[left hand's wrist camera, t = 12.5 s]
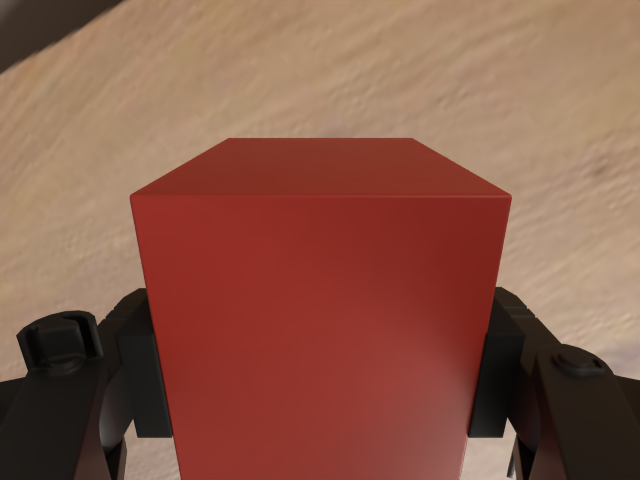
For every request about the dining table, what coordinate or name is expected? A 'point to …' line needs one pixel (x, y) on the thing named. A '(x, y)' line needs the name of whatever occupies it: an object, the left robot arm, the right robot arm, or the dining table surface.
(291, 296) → the block
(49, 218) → the dining table surface
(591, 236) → the dining table surface
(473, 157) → the dining table surface
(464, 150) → the dining table surface
